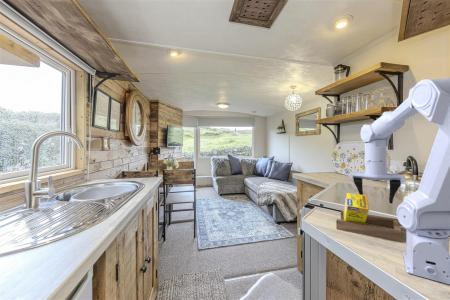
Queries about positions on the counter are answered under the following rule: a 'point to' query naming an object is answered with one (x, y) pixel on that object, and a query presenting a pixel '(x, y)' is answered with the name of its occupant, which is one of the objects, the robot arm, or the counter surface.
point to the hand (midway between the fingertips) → (375, 200)
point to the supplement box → (356, 208)
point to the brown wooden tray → (373, 227)
